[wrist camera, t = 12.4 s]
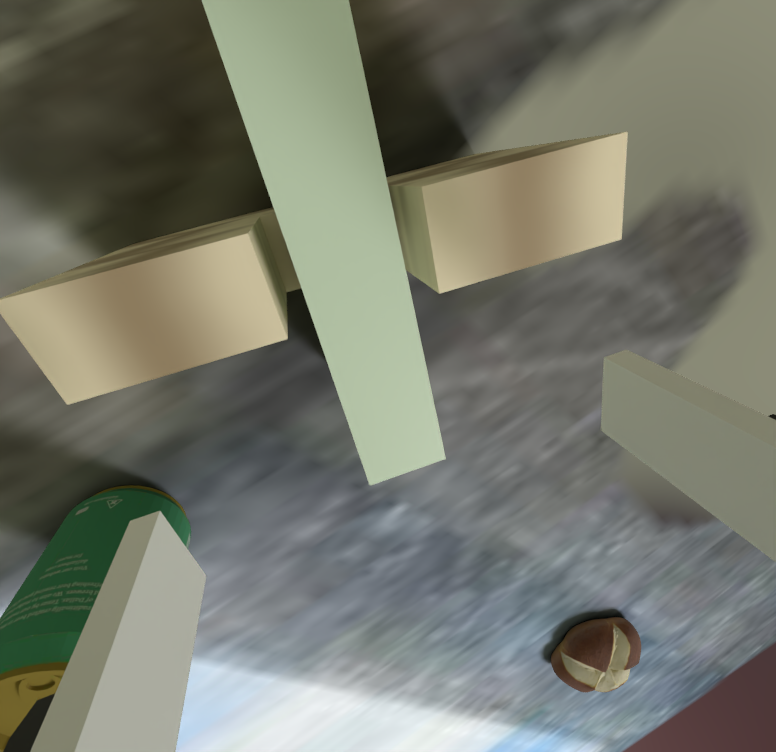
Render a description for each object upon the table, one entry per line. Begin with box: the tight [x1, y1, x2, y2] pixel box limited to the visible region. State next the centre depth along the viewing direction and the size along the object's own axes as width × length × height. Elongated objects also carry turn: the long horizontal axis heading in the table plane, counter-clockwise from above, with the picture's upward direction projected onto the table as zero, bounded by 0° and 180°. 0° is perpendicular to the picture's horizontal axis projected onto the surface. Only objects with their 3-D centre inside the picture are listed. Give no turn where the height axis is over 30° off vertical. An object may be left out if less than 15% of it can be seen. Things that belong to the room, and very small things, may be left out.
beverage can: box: [0, 485, 191, 752], centre depth 24 cm, size 8×8×12 cm
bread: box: [551, 617, 641, 692], centre depth 51 cm, size 11×11×5 cm
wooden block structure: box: [0, 132, 628, 405], centre depth 18 cm, size 20×4×12 cm, turn 103°
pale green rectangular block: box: [202, 0, 446, 485], centre depth 18 cm, size 18×4×12 cm, turn 14°
